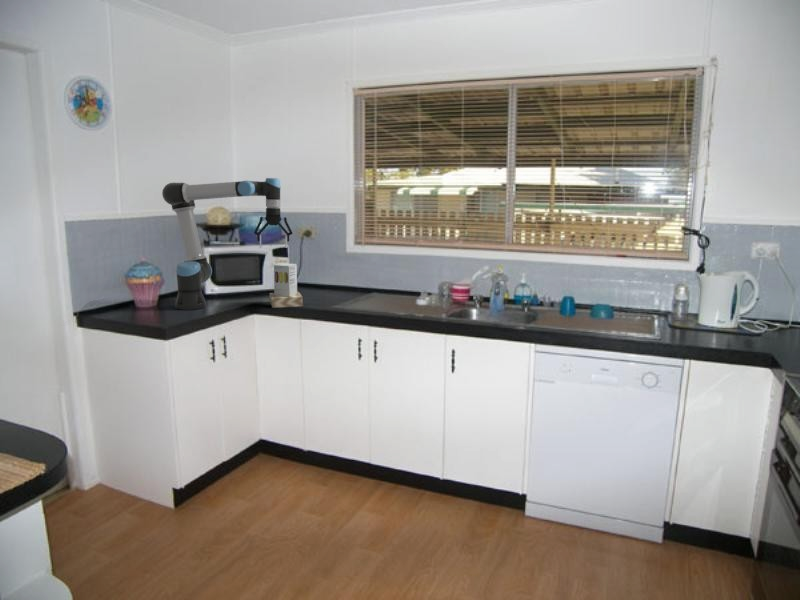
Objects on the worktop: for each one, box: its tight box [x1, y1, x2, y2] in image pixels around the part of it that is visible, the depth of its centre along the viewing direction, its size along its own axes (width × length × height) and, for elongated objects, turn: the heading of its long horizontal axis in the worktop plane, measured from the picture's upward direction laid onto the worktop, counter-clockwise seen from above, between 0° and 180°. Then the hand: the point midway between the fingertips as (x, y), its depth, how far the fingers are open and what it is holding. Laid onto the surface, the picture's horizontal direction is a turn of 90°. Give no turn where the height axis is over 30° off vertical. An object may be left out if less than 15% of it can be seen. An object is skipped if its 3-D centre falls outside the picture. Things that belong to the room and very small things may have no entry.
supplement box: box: [273, 262, 298, 297], centre depth 305 cm, size 10×9×17 cm
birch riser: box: [269, 291, 304, 309], centre depth 307 cm, size 16×16×5 cm
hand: (273, 247), depth 304 cm, fingers open, 13 cm apart
